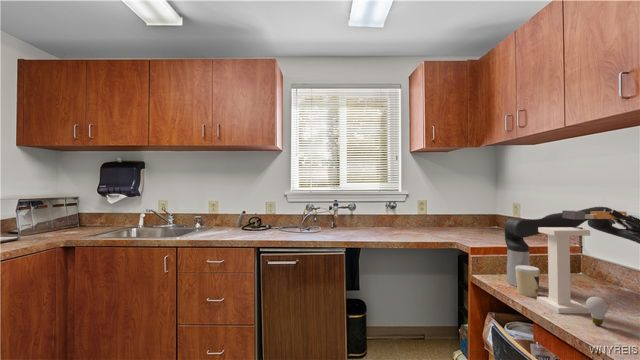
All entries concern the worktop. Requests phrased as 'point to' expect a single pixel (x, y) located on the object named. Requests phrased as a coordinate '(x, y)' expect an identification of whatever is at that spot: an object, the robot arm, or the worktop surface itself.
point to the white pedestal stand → (560, 270)
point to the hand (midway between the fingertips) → (608, 211)
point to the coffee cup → (527, 280)
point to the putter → (589, 215)
